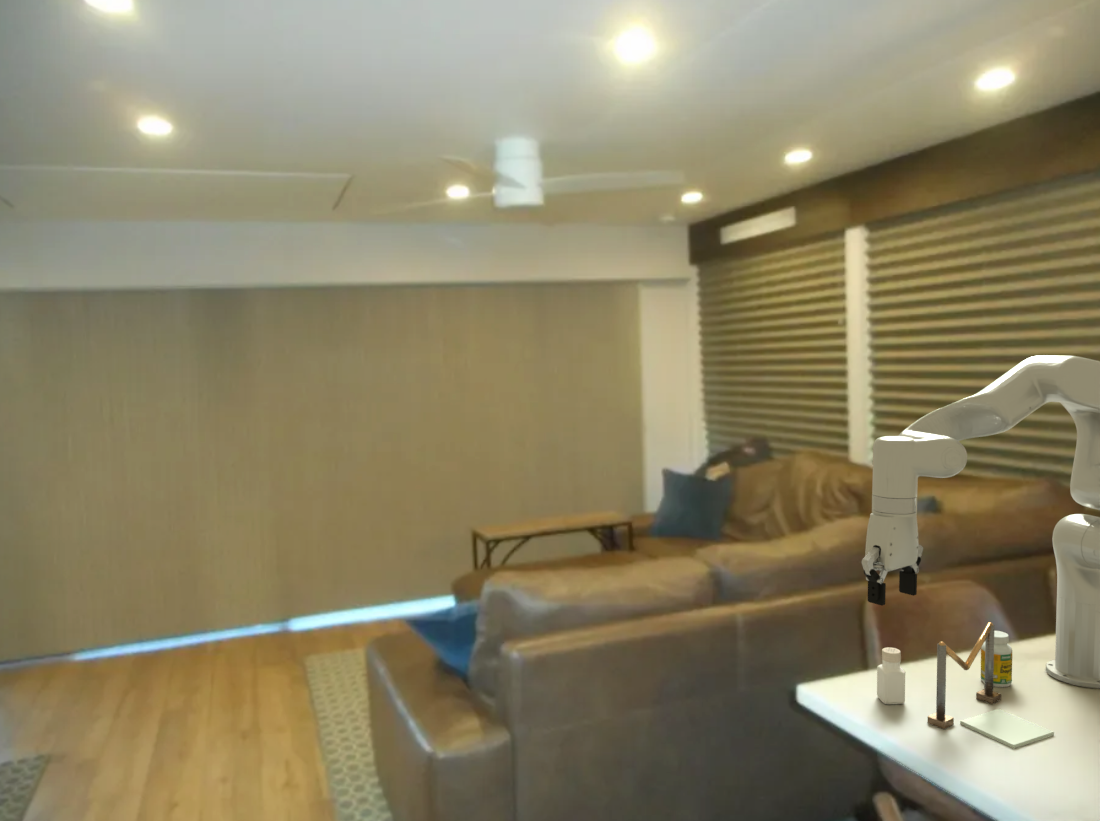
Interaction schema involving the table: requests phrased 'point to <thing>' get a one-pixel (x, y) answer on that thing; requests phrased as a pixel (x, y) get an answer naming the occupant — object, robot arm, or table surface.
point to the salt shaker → (891, 677)
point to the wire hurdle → (984, 695)
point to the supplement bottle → (999, 660)
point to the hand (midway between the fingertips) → (892, 598)
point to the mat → (1007, 728)
